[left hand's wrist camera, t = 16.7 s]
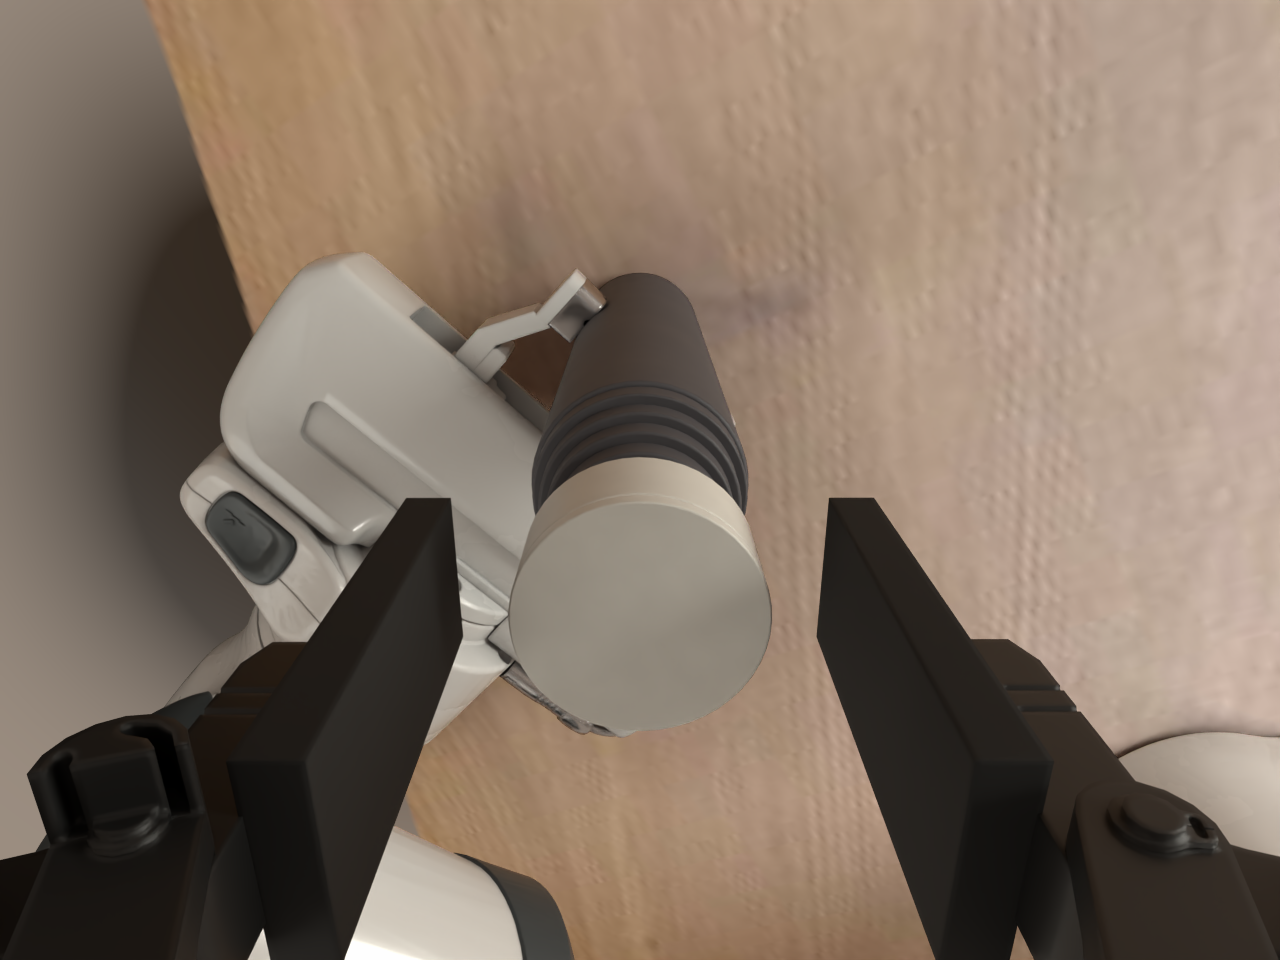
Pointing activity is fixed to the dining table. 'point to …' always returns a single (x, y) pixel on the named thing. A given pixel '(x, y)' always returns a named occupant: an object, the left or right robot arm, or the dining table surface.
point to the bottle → (640, 393)
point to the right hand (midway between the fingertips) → (656, 346)
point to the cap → (640, 596)
